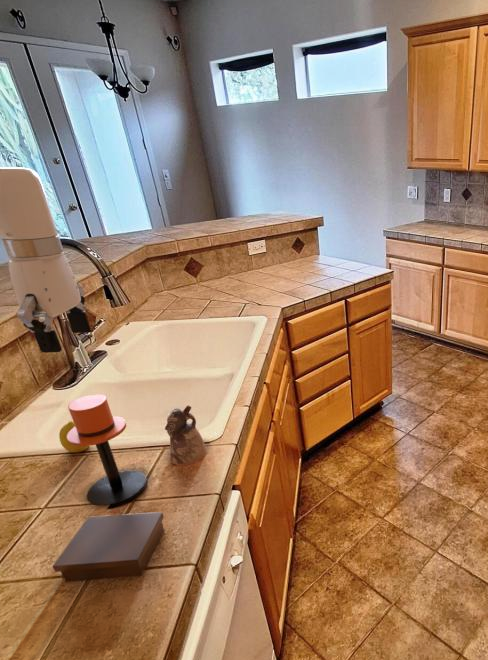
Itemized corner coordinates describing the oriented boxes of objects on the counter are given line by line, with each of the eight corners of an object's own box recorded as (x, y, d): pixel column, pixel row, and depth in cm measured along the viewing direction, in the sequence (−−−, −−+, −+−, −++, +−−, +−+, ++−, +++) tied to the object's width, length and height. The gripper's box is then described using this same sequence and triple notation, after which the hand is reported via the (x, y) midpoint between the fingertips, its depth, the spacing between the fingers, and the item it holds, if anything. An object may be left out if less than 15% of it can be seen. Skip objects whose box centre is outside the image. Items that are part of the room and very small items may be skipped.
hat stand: (77, 511, 79) (51, 449, 73) (104, 476, 88) (83, 418, 82) (134, 507, 80) (113, 446, 74) (155, 473, 89) (138, 415, 83)
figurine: (168, 452, 96) (156, 405, 90) (202, 442, 99) (192, 397, 94) (173, 469, 90) (160, 421, 85) (209, 458, 94) (198, 411, 88)
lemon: (68, 448, 96) (56, 418, 93) (97, 442, 98) (87, 412, 95) (64, 462, 92) (51, 431, 88) (95, 455, 94) (83, 425, 90)
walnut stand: (61, 584, 65) (52, 566, 64) (95, 534, 74) (88, 516, 73) (144, 577, 67) (137, 559, 65) (167, 528, 76) (162, 511, 74)
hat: (56, 447, 73) (43, 416, 71) (84, 419, 81) (74, 391, 79) (112, 444, 74) (101, 414, 72) (134, 417, 82) (126, 389, 80)
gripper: (43, 239, 80) (72, 326, 88) (-30, 258, 65) (14, 361, 72) (86, 239, 81) (111, 325, 88) (25, 257, 65) (62, 359, 73)
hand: (67, 341), depth 80 cm, fingers open, 9 cm apart
